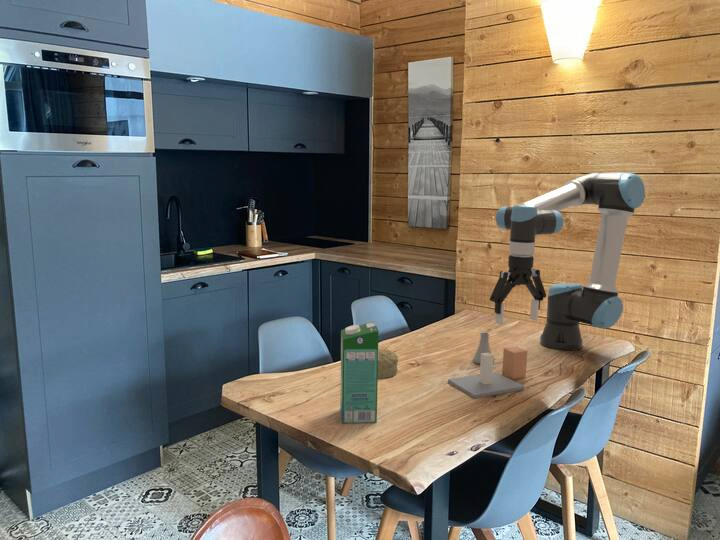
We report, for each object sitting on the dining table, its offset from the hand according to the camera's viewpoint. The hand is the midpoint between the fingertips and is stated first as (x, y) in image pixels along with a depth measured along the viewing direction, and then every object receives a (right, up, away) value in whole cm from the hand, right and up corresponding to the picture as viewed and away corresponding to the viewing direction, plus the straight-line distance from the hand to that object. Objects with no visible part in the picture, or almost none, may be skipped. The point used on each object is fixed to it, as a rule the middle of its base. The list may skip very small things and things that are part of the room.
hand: (516, 321), depth 192 cm
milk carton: (-50, -23, -29) cm, 62 cm away
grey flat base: (-11, -19, -6) cm, 23 cm away
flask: (-7, -15, +16) cm, 23 cm away
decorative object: (-42, -17, +4) cm, 46 cm away
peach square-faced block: (0, -17, +3) cm, 18 cm away
